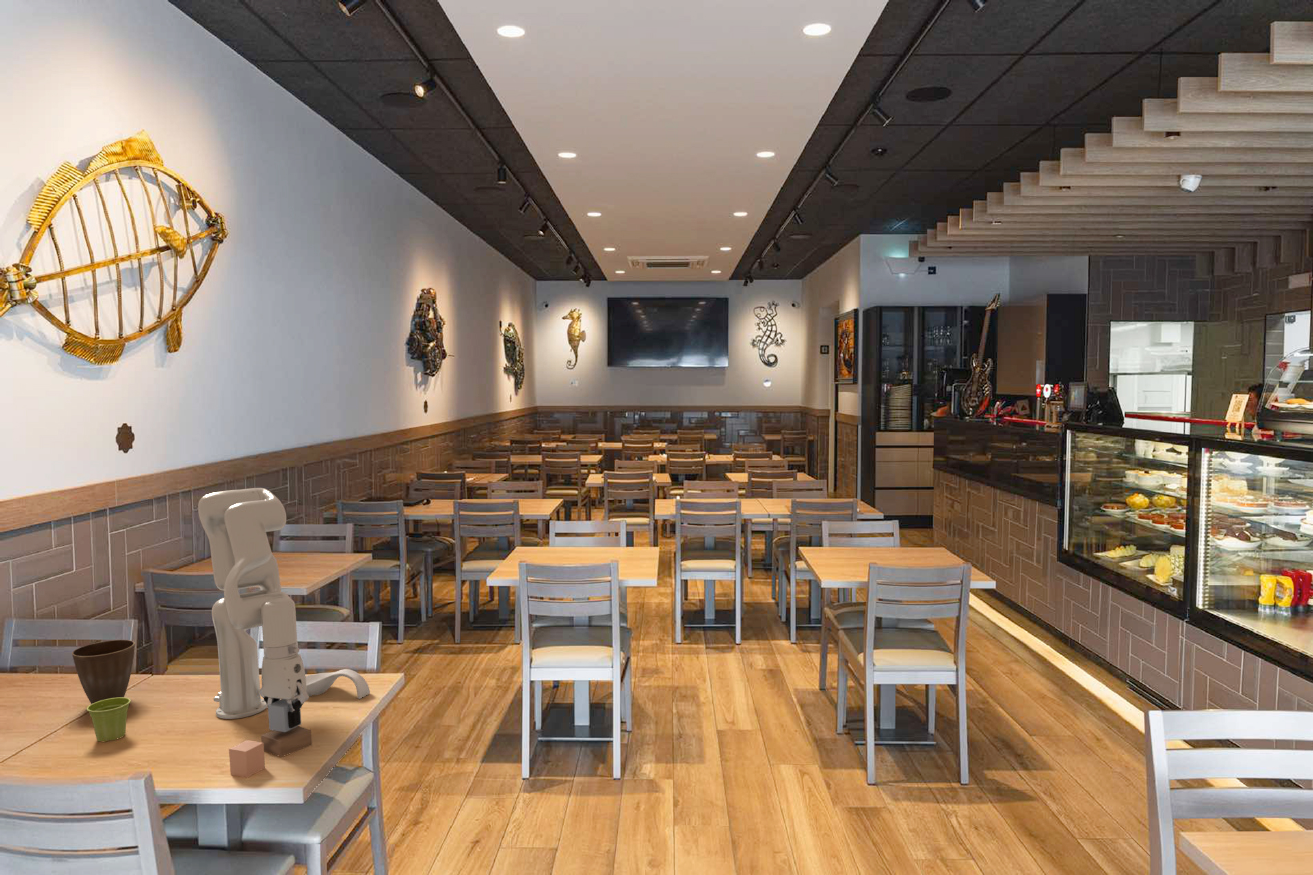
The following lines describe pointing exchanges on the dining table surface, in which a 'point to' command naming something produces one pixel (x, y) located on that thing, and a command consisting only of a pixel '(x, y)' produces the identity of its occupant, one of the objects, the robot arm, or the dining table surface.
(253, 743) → the terracotta block
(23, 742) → the dining table surface
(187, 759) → the dining table surface
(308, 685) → the spoon rest
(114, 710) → the plant pot
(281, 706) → the slate block
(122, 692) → the plant pot
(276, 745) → the walnut base
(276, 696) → the robot arm
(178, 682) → the dining table surface
